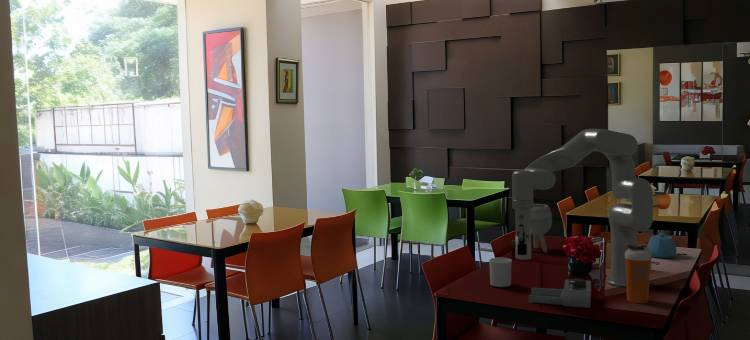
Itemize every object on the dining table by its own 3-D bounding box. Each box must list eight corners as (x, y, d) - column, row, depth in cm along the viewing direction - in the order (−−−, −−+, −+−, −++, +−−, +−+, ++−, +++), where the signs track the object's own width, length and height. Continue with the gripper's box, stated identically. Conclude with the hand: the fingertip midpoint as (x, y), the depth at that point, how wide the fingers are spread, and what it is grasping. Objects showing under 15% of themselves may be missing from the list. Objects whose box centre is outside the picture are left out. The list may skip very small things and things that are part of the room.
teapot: (645, 236, 297) (648, 229, 313) (645, 259, 298) (647, 251, 314) (676, 238, 291) (677, 231, 307) (676, 262, 292) (676, 253, 308)
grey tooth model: (556, 253, 314) (556, 207, 312) (522, 254, 315) (522, 208, 313) (547, 246, 330) (547, 202, 328) (515, 247, 331) (515, 203, 329)
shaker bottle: (619, 297, 240) (620, 243, 238) (643, 296, 241) (643, 242, 239) (631, 304, 231) (632, 249, 230) (655, 303, 232) (656, 247, 230)
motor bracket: (590, 294, 245) (591, 274, 244) (590, 307, 229) (590, 286, 228) (532, 291, 252) (532, 271, 251) (528, 303, 236) (528, 282, 235)
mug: (507, 289, 255) (507, 263, 254) (485, 286, 260) (485, 261, 259) (516, 282, 264) (516, 257, 263) (496, 280, 269) (495, 255, 268)
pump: (531, 256, 243) (531, 233, 242) (530, 260, 238) (530, 236, 237) (512, 255, 245) (512, 232, 244) (510, 259, 240) (510, 235, 239)
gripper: (530, 208, 230) (531, 258, 232) (535, 201, 246) (536, 248, 248) (509, 207, 232) (509, 257, 234) (515, 200, 249) (515, 247, 250)
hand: (523, 252), depth 241 cm, fingers closed on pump, 5 cm apart
